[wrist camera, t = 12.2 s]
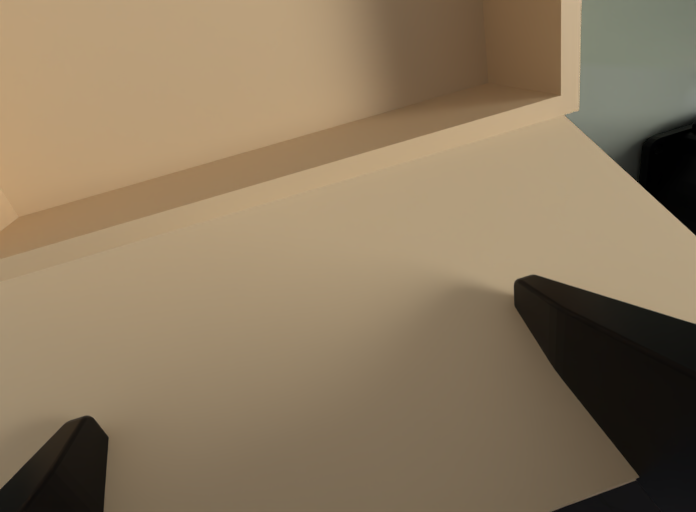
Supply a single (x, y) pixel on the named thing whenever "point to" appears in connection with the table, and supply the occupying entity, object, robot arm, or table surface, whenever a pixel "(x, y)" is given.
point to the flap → (348, 339)
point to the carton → (247, 104)
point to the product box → (616, 501)
